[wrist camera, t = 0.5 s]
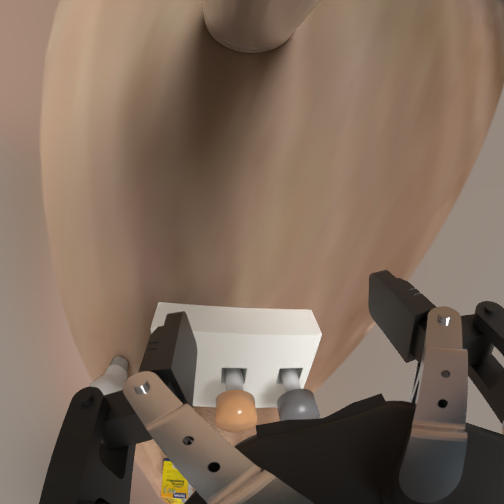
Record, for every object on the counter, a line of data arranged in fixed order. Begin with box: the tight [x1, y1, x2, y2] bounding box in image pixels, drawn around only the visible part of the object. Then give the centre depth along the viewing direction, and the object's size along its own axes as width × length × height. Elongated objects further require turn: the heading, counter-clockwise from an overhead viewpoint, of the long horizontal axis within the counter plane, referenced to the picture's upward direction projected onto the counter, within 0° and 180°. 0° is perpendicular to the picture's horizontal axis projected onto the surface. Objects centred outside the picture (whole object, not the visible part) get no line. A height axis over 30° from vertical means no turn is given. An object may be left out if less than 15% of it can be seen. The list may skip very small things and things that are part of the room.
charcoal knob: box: [277, 368, 320, 421], centre depth 31 cm, size 4×4×8 cm
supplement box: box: [161, 458, 192, 504], centre depth 48 cm, size 6×6×11 cm
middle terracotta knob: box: [216, 368, 257, 432], centre depth 31 cm, size 4×4×8 cm
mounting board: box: [151, 302, 322, 408], centre depth 35 cm, size 14×19×5 cm
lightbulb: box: [89, 356, 129, 395], centre depth 32 cm, size 6×6×11 cm
